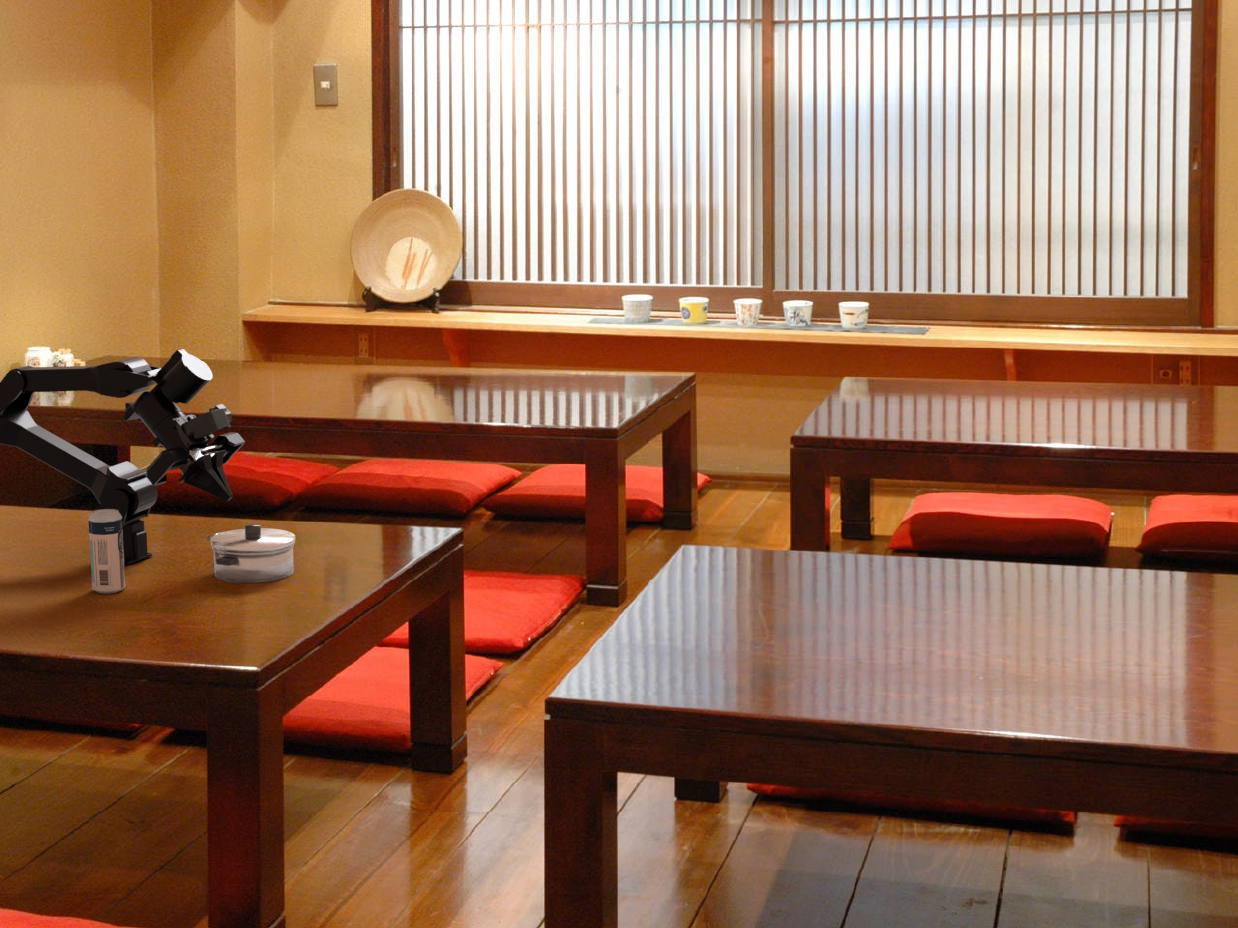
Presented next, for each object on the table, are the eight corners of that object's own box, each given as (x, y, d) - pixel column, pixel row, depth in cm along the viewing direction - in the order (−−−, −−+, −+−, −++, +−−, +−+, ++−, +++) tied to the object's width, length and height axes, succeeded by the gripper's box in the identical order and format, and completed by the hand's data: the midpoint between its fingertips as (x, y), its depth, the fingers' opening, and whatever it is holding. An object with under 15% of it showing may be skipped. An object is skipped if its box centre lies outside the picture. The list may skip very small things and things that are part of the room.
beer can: (132, 590, 237) (128, 511, 235) (103, 596, 233) (98, 516, 231) (114, 584, 240) (110, 506, 238) (85, 590, 236) (81, 511, 234)
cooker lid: (188, 547, 243) (187, 529, 243) (237, 529, 255) (236, 512, 254) (264, 556, 238) (264, 538, 238) (311, 538, 250) (310, 520, 249)
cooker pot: (189, 581, 242) (188, 550, 241) (250, 557, 257) (249, 528, 256) (258, 589, 238) (257, 558, 237) (316, 565, 252) (315, 535, 251)
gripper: (159, 398, 237) (223, 477, 235) (232, 382, 254) (293, 455, 252) (118, 445, 241) (181, 524, 239) (193, 426, 258) (252, 499, 256)
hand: (229, 499), depth 247 cm, fingers closed
